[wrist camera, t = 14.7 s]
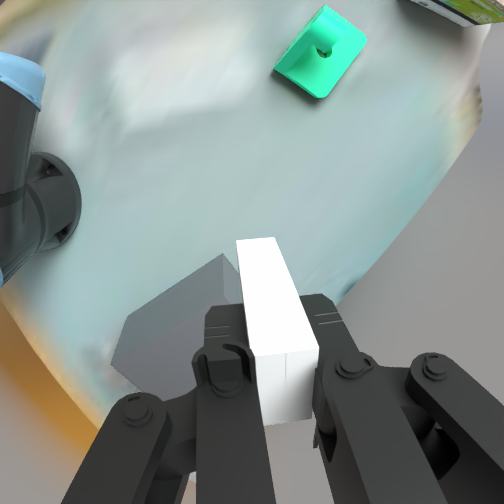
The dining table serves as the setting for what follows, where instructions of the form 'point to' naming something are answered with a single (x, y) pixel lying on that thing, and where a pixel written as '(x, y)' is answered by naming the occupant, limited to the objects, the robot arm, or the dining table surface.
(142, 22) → the dining table surface
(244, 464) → the robot arm
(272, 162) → the dining table surface
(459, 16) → the tea box
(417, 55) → the dining table surface
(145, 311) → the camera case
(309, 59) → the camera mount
